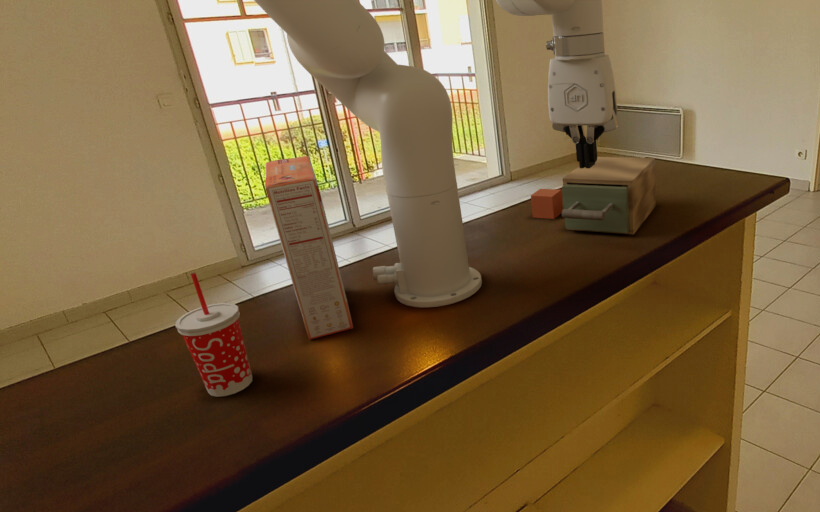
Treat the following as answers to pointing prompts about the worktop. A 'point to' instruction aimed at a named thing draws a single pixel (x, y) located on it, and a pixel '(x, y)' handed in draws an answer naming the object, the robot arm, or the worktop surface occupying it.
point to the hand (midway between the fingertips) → (587, 165)
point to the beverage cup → (216, 345)
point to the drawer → (596, 207)
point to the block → (547, 203)
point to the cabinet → (623, 173)
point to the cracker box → (307, 245)
